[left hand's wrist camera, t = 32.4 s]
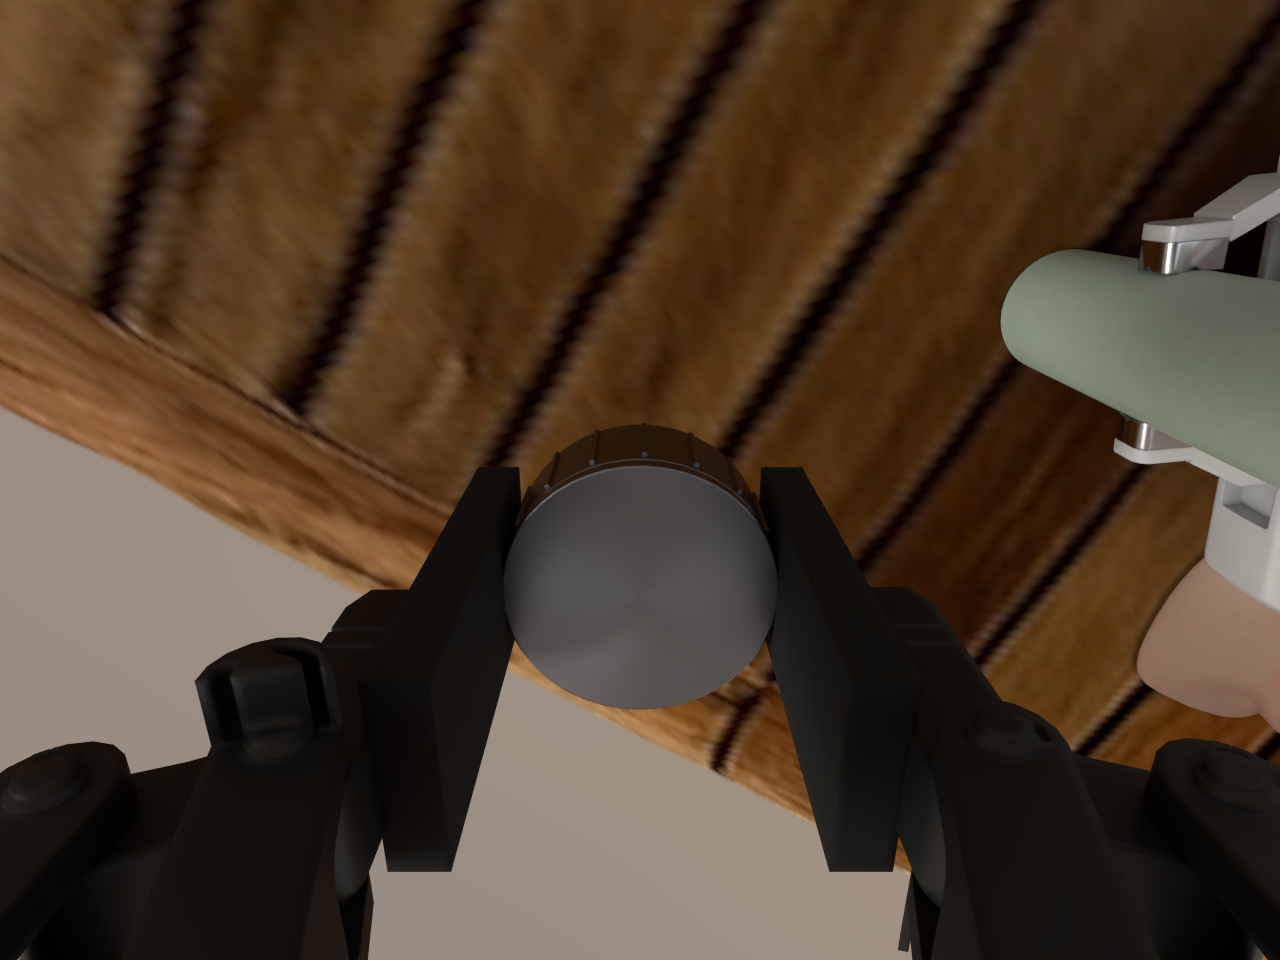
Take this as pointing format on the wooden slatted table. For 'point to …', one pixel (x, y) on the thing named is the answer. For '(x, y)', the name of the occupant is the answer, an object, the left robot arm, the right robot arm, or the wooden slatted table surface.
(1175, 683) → the anatomical model
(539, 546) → the cap
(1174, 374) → the bottle
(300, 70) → the wooden slatted table surface
